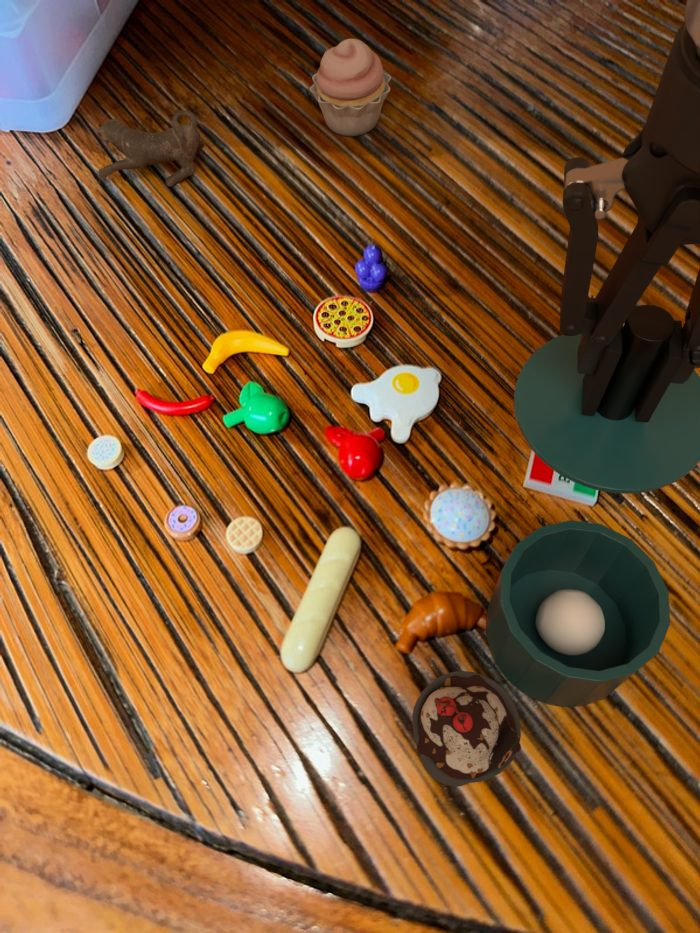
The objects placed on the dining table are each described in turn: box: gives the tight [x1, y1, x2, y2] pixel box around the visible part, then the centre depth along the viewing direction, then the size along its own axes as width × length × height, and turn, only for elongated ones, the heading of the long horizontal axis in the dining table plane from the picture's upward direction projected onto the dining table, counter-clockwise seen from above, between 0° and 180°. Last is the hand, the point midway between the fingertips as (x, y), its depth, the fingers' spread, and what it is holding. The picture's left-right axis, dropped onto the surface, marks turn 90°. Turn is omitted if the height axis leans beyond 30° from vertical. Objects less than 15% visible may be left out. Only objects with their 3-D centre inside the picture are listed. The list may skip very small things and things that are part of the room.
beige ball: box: [536, 589, 605, 656], centre depth 57 cm, size 5×5×5 cm
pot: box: [485, 519, 671, 708], centre depth 56 cm, size 11×11×8 cm
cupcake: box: [309, 38, 392, 137], centre depth 86 cm, size 9×9×10 cm
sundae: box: [411, 670, 522, 787], centre depth 49 cm, size 7×7×15 cm
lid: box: [513, 304, 700, 495], centre depth 46 cm, size 12×12×9 cm
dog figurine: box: [97, 109, 206, 187], centre depth 84 cm, size 12×6×7 cm, turn 90°
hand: (615, 400), depth 48 cm, fingers closed on lid, 3 cm apart
